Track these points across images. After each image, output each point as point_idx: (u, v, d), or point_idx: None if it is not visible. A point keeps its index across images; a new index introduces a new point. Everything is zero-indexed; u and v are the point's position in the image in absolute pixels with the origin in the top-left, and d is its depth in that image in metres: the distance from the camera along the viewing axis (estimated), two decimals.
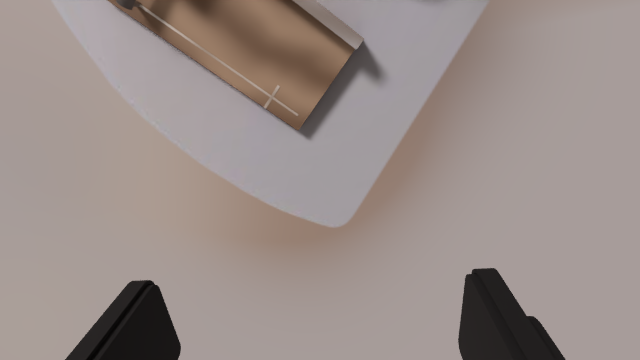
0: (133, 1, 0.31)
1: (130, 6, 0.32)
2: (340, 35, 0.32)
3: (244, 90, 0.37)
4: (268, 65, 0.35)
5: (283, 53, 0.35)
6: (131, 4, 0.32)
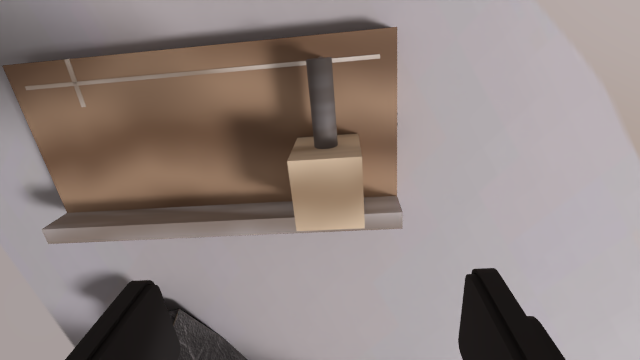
0: (307, 76, 0.18)
1: (307, 66, 0.18)
2: (68, 229, 0.23)
3: (111, 60, 0.21)
4: (118, 121, 0.22)
5: (119, 149, 0.23)
6: (307, 70, 0.18)
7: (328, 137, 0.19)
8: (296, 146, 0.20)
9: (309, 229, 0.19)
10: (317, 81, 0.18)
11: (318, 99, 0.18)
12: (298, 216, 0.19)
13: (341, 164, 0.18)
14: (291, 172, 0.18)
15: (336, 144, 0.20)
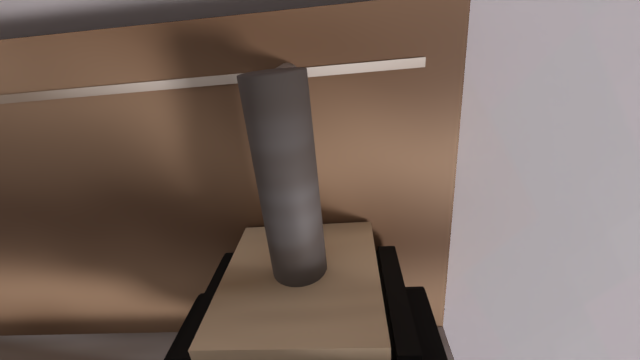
0: (245, 118, 0.07)
1: None
2: None
3: None
4: None
5: None
6: (242, 103, 0.07)
7: (304, 263, 0.08)
8: (234, 266, 0.09)
9: None
10: (267, 135, 0.06)
11: (273, 179, 0.07)
12: None
13: None
14: None
15: (323, 271, 0.08)
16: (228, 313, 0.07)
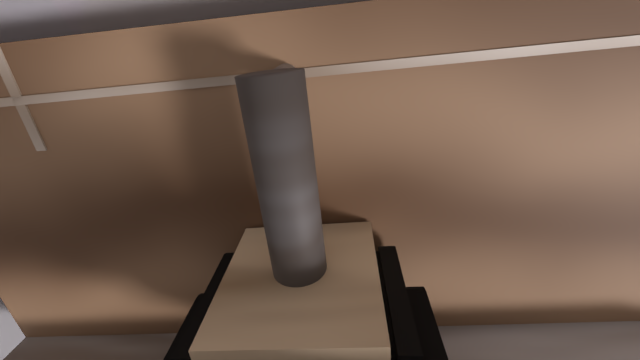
0: None
1: None
2: None
3: (98, 46, 0.09)
4: (118, 179, 0.10)
5: (121, 233, 0.11)
6: (240, 104, 0.07)
7: (303, 263, 0.08)
8: (234, 266, 0.09)
9: None
10: (266, 136, 0.06)
11: (272, 180, 0.07)
12: None
13: None
14: None
15: (323, 271, 0.08)
16: (228, 314, 0.07)
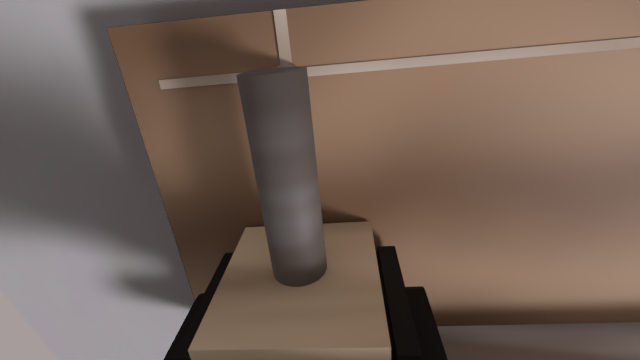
0: (245, 117, 0.07)
1: None
2: None
3: (397, 12, 0.08)
4: (368, 161, 0.10)
5: (350, 219, 0.10)
6: (242, 103, 0.07)
7: (304, 263, 0.08)
8: (234, 265, 0.09)
9: None
10: (267, 135, 0.06)
11: (273, 179, 0.07)
12: None
13: None
14: None
15: (323, 270, 0.08)
16: (228, 313, 0.07)
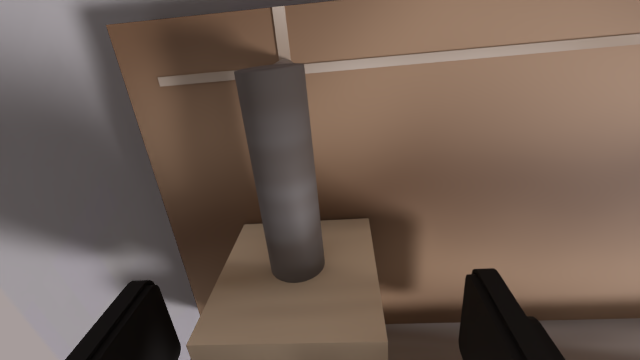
0: None
1: None
2: None
3: (396, 10, 0.08)
4: (366, 158, 0.10)
5: (349, 216, 0.11)
6: (239, 99, 0.07)
7: (302, 259, 0.08)
8: (232, 262, 0.09)
9: None
10: (265, 131, 0.06)
11: (271, 175, 0.07)
12: None
13: (331, 356, 0.07)
14: None
15: (321, 266, 0.08)
16: (226, 308, 0.07)
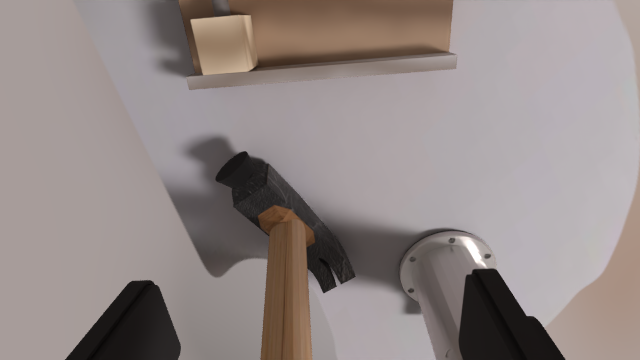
0: None
1: None
2: (207, 76, 0.31)
3: None
4: None
5: None
6: None
7: (221, 8, 0.28)
8: None
9: (211, 73, 0.29)
10: None
11: None
12: (202, 63, 0.29)
13: (225, 21, 0.27)
14: (194, 28, 0.27)
15: (228, 15, 0.29)
16: None
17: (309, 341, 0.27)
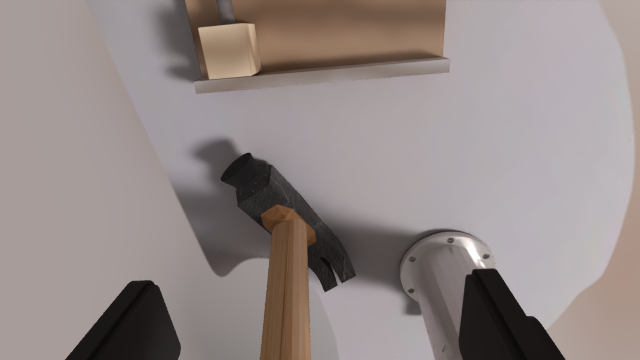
0: None
1: None
2: (213, 81, 0.33)
3: None
4: (251, 1, 0.32)
5: None
6: None
7: (227, 17, 0.30)
8: None
9: (217, 78, 0.31)
10: None
11: None
12: (209, 68, 0.31)
13: (230, 29, 0.29)
14: (201, 35, 0.29)
15: (233, 23, 0.31)
16: None
17: (308, 332, 0.28)
